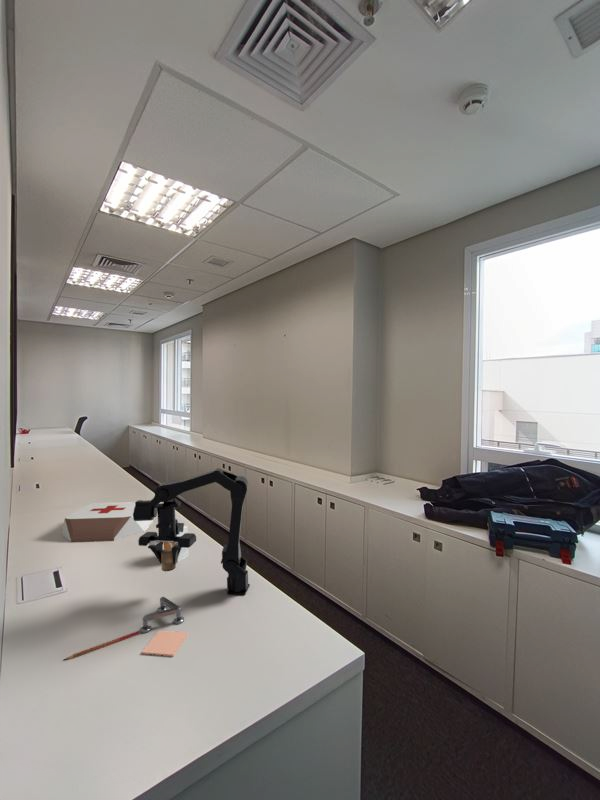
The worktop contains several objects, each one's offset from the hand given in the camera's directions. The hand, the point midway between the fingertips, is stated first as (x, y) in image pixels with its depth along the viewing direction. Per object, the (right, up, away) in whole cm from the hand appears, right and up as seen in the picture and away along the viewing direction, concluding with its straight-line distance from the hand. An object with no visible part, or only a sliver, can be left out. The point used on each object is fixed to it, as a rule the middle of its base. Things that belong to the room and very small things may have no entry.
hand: (168, 563), depth 130 cm
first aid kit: (-53, -10, +64) cm, 84 cm away
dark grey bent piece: (+4, -11, -14) cm, 19 cm away
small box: (-7, -10, +29) cm, 31 cm away
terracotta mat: (+8, -11, -25) cm, 29 cm away
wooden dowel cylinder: (0, -2, 0) cm, 2 cm away
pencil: (-9, -12, -25) cm, 30 cm away
